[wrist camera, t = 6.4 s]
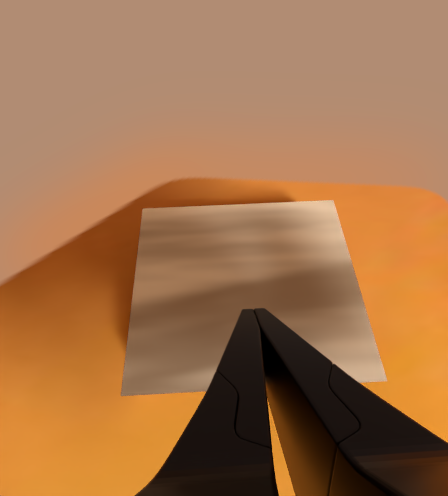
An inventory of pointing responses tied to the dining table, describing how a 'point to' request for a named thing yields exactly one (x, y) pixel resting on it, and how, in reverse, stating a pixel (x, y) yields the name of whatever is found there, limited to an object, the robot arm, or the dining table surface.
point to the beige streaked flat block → (241, 290)
